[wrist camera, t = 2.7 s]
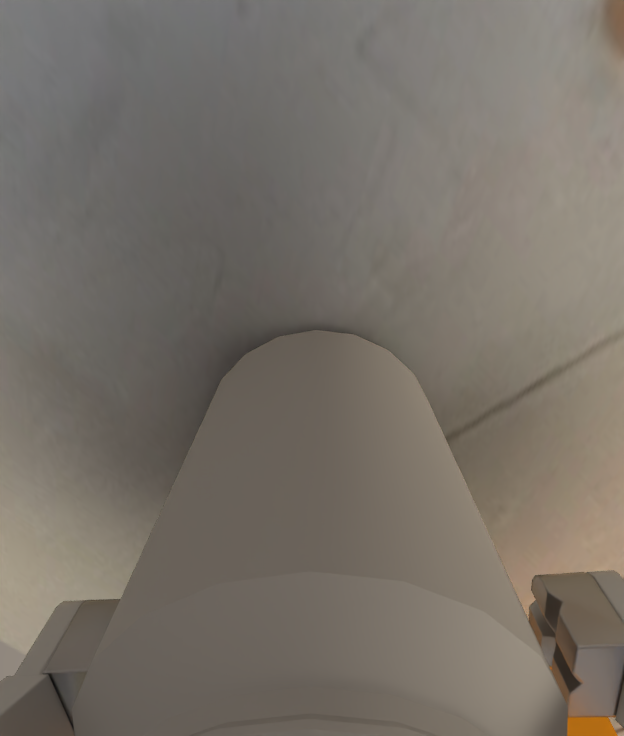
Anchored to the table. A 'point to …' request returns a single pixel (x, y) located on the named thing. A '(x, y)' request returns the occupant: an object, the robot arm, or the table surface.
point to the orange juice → (590, 726)
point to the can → (319, 572)
